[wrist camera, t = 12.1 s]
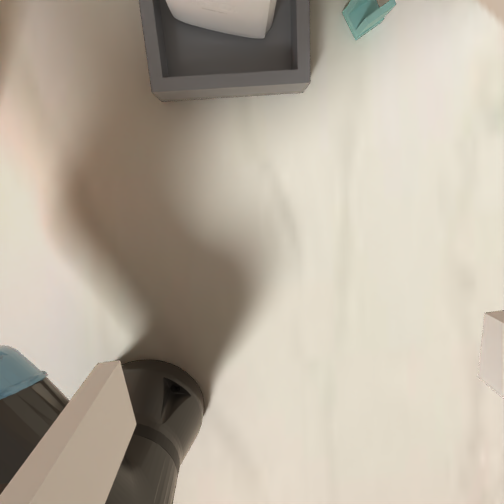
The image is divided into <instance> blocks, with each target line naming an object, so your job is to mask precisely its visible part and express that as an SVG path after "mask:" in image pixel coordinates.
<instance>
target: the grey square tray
mask: <svg viewBox="0 0 504 504" xmlns="http://www.w3.org/2000/svg"><path fill="white" fill-rule="evenodd" d="M139 5H140V12H141V19H142V26H143V33H144V40H145V47H146V54H147V61H148V68H149V75H150V82H151V89H152V93H153V94H154V95H155V96H156V97H157V98H159V99H160V100H161V101H178V100H195V99H211V98H227V97H243V96H259V95H275V94H291V93H303V92H304V90H305V89H306V88H307V86H308V85H309V84H310V2H309V0H277V1H276V6H275V12H274V17H273V22H272V25H271V28H270V30H269V31H268V32H267V34H266V35H265V38H263V39H255V38H248V37H242V36H237V35H232V34H227V33H223V32H218V31H213V30H209V29H205V28H201V27H198V26H194V25H190V24H187V23H184V22H182V21H179V20H177V19H176V18H174V17H173V15H172V13H171V11H170V9H169V7H168V5H167V2H166V0H139Z"/></svg>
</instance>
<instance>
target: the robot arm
mask: <svg viewBox="0 0 504 504" xmlns="http://www.w3.org/2000/svg"><path fill="white" fill-rule="evenodd" d="M46 376H48V374H47V373H46V372H45V371H40V370H39V369H38V368H37V367H36V366H35V365H34V364H32V363H31V362H30V361H29V360H28V359H27V358H26V357H24V356H23V355H22V354H21V353H20V352H19V351H18V350H16V349H14V348H12V347H9V346H3V345H0V504H173V498H174V493H175V488H176V483H177V477H178V472H179V468H180V465H181V463H182V461H183V460H184V458H185V456H186V454H187V453H188V451H189V449H190V447H191V445H192V444H193V442H194V440H195V438H196V437H197V435H198V433H199V430H200V427H201V424H202V418H203V412H204V400H203V396H202V393H201V390H200V388H199V386H198V385H197V383H196V382H195V381H194V379H193V378H192V377H191V376H190V375H188V374H187V373H186V372H185V371H183V370H182V369H180V368H178V367H176V366H174V365H172V364H169V363H166V362H162V361H156V360H140V361H134V362H130V363H127V364H124V365H122V366H121V363H120V360H118V361H110V362H103V363H97V365H96V366H95V368H94V369H93V370H92V372H91V373H90V374H89V376H88V377H87V378H86V380H85V381H84V382H83V384H82V385H81V386H80V388H79V389H78V391H77V392H76V393H75V395H74V396H73V397H72V399H71V400H70V401H69V400H68V399H67V398H66V397H65V396H64V394H63V393H62V392H61V391H60V390H59V389H58V388H57V387H56V386H55V385H54V384H53V383H52V382H51V381H50V380H49V379H48V378H47V377H46ZM477 377H478V378H479V379H480V380H481V381H482V382H484V383H485V384H486V385H487V386H489V387H490V388H491V389H492V390H493V391H495V392H496V393H497V394H498V395H500V396H501V397H502V398H503V399H504V310H501V311H494V312H486V313H484V321H483V330H482V339H481V348H480V358H479V367H478V376H477Z"/></svg>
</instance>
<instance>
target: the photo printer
mask: <svg viewBox="0 0 504 504" xmlns="http://www.w3.org/2000/svg"><path fill="white" fill-rule="evenodd" d="M276 1H277V0H166V2H167V5H168V7H169V9H170V11H171V13H172V15H173V17H174V18H176V19H177V20H179V21H182V22H184V23H187V24H190V25H194V26H198V27H201V28H205V29H209V30H213V31H218V32H223V33H227V34H232V35H237V36H242V37H248V38H255V39H263V38H265V35H266V34H267V32H268V31H269V30H270V28H271V25H272V22H273V17H274V12H275V6H276Z"/></svg>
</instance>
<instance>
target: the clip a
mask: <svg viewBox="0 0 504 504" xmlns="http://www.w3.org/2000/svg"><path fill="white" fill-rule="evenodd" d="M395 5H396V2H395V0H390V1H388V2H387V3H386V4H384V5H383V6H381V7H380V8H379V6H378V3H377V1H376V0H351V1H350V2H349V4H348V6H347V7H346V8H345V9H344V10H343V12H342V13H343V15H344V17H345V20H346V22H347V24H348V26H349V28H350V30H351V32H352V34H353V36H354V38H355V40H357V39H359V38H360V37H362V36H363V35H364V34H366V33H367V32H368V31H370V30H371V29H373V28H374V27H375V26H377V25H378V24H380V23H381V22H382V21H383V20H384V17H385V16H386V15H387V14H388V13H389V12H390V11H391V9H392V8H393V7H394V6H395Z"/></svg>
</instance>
